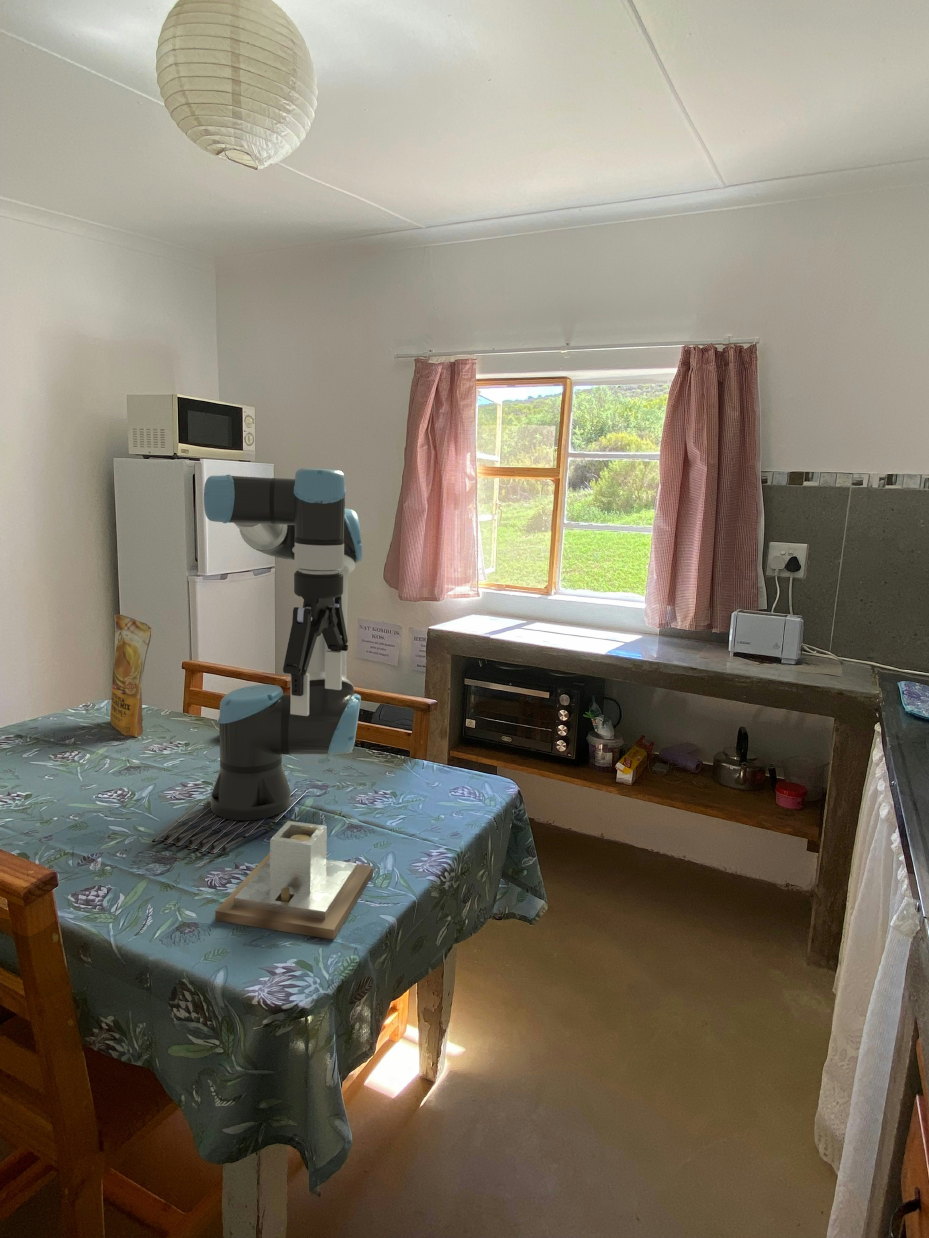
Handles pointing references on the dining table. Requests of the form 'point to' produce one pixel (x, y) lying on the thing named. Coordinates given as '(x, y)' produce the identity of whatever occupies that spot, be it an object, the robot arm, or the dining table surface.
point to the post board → (290, 921)
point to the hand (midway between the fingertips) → (317, 701)
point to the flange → (298, 874)
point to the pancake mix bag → (128, 674)
